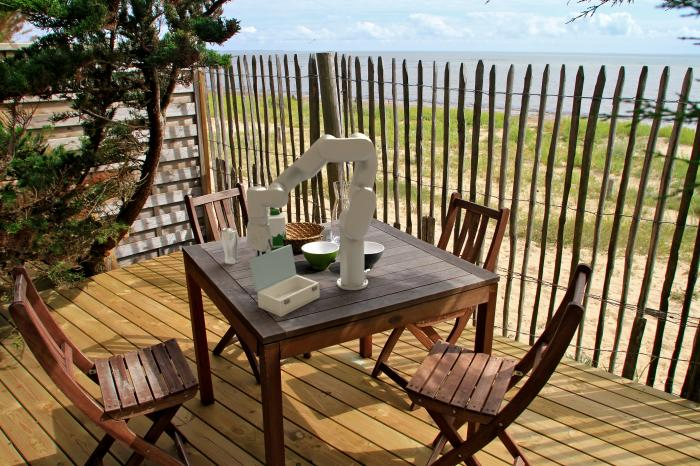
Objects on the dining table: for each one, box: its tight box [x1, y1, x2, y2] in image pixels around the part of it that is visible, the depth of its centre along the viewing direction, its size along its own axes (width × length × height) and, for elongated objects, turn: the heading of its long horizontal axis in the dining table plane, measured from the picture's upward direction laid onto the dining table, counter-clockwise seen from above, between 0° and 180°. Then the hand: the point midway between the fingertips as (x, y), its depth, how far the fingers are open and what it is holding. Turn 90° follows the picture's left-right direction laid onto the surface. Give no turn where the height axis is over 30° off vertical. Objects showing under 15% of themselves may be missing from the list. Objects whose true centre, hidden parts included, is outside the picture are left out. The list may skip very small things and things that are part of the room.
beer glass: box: [220, 227, 239, 265], centre depth 232 cm, size 7×7×15 cm
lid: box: [248, 244, 297, 292], centre depth 197 cm, size 20×12×1 cm
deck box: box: [256, 274, 321, 317], centre depth 195 cm, size 20×13×6 cm, turn 140°
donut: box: [319, 227, 332, 241], centre depth 249 cm, size 10×4×10 cm, turn 91°
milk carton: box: [268, 208, 287, 251], centre depth 242 cm, size 9×9×20 cm
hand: (262, 265), depth 202 cm, fingers closed
